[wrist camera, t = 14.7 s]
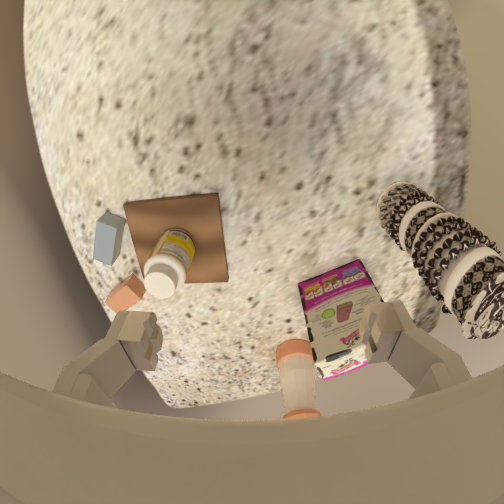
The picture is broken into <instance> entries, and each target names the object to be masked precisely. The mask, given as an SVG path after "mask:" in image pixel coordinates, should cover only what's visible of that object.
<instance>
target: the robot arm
mask: <svg viewBox="0 0 504 504" xmlns="http://www.w3.org/2000/svg"><path fill="white" fill-rule="evenodd" d="M363 313H364V317H363V318H362V319H361V320H360V325H359V335H360V340H361V342H362V343H363V344H364V345H365V346H366V348H365V350H364V352H365V355H366V358H367V361H368V364H372V363H380V362H386V361H388V363H389V364H390V365H391V366H392V367H393V368H394V369H395V370H396V371H397V372H398V373H399V374H400V375H401V376H402V377H403V378H404V379H405V380H406V381H407V382H408V383H410V385H412V386H413V387H414V388H415V391H414V392H413V393H412V395H411V396H410V398H409V399H408V400H405V401H401V402H397V403H393V404H388V405H384V406H379V407H375V408H370V409H364V410H359V411H353V412H347V413H340V414H334V415H326V416H317V417H307V418H296V419H282V420H260V421H259V420H255V421H230V420H204V419H190V418H178V417H169V416H160V415H153V414H145V413H139V412H133V411H127V410H122V409H117V407H116V406H115V405H114V404H113V403H112V401H111V400H110V398H111V397H112V396H113V395H114V394H115V392H116V391H117V390H118V389H119V388H120V387H121V386H122V385H123V384H124V383H125V382H126V381H127V380H128V379H129V378H130V377H131V375H132V374H133V373H134V372H135V371H136V370H147V371H155V368H156V365H157V361H158V356H157V354H156V353H157V352H158V351H160V350H161V347H162V341H163V335H162V331H161V328H160V326H158V325H157V324H156V321H157V317H156V315H155V313H153V312H140V311H121V310H120V311H119V312H118V313H117V314H116V316H115V318H114V320H113V322H112V325H111V327H110V329H109V331H108V333H107V336H106V337H105V339H101V340H100V341H98V342H97V343H96V344H94V345H93V346H92V347H90V348H89V349H88V350H86V351H85V352H84V353H82V354H81V355H80V356H79V357H77V358H76V359H74V360H73V361H72V362H70V363H69V364H68V365H66V366H65V367H64V368H63V369H62V371H61V373H60V375H59V377H58V379H57V381H56V384H55V386H54V389H53V391H52V392H51V391H48V390H45V389H42V388H39V387H36V386H33V385H31V384H28V383H26V382H23V381H20V380H18V379H15V378H13V377H11V376H8V375H6V374H4V373H1V372H0V504H504V365H503V366H500V367H499V368H496V369H494V370H492V371H490V372H487V373H485V374H482V375H480V376H478V377H475V378H473V379H472V377H471V375H470V373H469V371H468V369H467V367H466V365H465V363H464V361H463V359H462V357H461V356H460V355H459V354H457V353H456V352H455V351H453V350H452V349H450V348H449V347H447V346H446V345H444V344H443V343H441V342H440V341H438V340H437V339H435V338H434V337H432V336H431V335H429V334H428V333H426V332H425V331H423V330H422V329H420V328H416V326H415V324H414V323H413V321H412V319H411V317H410V315H409V313H408V311H407V310H406V308H405V306H404V304H403V302H402V301H400V300H397V301H390V302H382V303H373V304H366V305H365V307H364V310H363Z"/></svg>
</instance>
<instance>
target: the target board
mask: <svg viewBox="0 0 504 504" xmlns="http://www.w3.org/2000/svg"><path fill="white" fill-rule="evenodd" d="M123 206H124V210H125V214H126V218H127V222H128V226H129V230H130V233H131V237H132V241H133V244H134V248H135V251H136V255H137V258H138V262H139V265H140V268H141V271H142V275H143V278H145V276H144V265H145V263H146V261H147V259H148V257H149V256H150V254H151V252H152V251H153V249H154V247H155V246H156V244H157V242H158V241H159V239H160V237H161V236H162V235H163V233H165V232H166V231H168V230H170V229H181V230H184V231H186V232H187V233H189V234H190V235H191V237H192V238H193V240H194V242H195V254H194V256H193V259H192V262H191V265H190V268H189V271H188V274H187V277H186V280H185V283H214V282H228V279H229V276H228V268H227V261H226V253H225V245H224V237H223V229H222V221H221V212H220V204H219V195H218V193H212V194H200V195H189V196H179V197H169V198H160V199H151V200H142V201H134V202H127V203H126V204H124V205H123Z"/></svg>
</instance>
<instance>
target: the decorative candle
mask: <svg viewBox="0 0 504 504" xmlns="http://www.w3.org/2000/svg"><path fill="white" fill-rule="evenodd" d="M376 216H377V218H378V221H379V224H380V225H381V226H382V228H384V229H385V230H386V232H387V233H388V234H390V233H391V235H390V237H391V238H392V239H395V242H396V244H397V245H399V247H400V249H401V250H403V251H406V252H407V254H408V255H409V256H410V257H411V258H412V260H413V264H414V268H417V269H418V271H419V275H420V276H421V277H423V279H424V281H425V285H426V286H427V287H429V290H430V291H431V295H432V296H433V297H436V300H437V301H441V300H443V301H444V303H445V304H446V306H447V307H446V306H445V305H443V307H442V311H443V313H448V312H449V313H450V314H453V315H454V316H455V317H457V319H458V320H459V322H460V323H461V325H462V334H463V335H464V336H465V337H466V338H468V339H475V338H479V339H487V338H490V337H492V336H494V335H496V334H497V333H498V332H500V331H501V330H502V329H503V328H504V261H503V260H502V258H501V252H500V251H499V250H497V244H496V243H495V242H494V241H492V242H490V240H489V238H488V237H487V236H483V234H482V232H481V231H477V229H476V228H475V227H472V228H471V226H470V224H469V223H467V222H466V223H465V222H464V220H463V219H462V218H459V217H458V216H456V215H454V214H452V213H450V212H446V211H445V209H444V208H443V207H441V206H440V204H439V202H438V201H434V199H433V198H432V197H431V196H430V197H428V195H427V193H426V192H424V191H422V190H421V189H420V188H417V187H416V186H415V185H413V184H411V183H408V182H406V181H404V182H395V183H394V184H392V185H390V186H388V187H387V188H386V189H385V190H384V191H383V192H382V194H381V195H380V197H379V200H378V202H377V205H376ZM484 244H485V245H487V246H485V245H484ZM439 293H441V294H442V295H441V294H439Z"/></svg>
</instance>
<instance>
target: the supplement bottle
mask: <svg viewBox="0 0 504 504" xmlns="http://www.w3.org/2000/svg"><path fill="white" fill-rule="evenodd" d="M194 254H195V242H194V240H193V238H192V237H191V235H190V234H189V233H187V232H186V231H184V230H181V229H170V230H168V231H166V232H165V233H163V235H162V236H161V237H160V239H159V241H158V242H157V244H156V246H155V247H154V249H153V251H152V252H151V254H150V256H149V257H148V259H147V261H146V263H145V265H144V276H145V278H144V286H145V288H146V290H147V291H148V292H149V293H150V294H151V295H152V296H154V297H156V298H160V299H166V298H169V297H171V296H172V295H173V294H174V292H175V291H177V290H179V289H180V288H181V287H182V286H183V285H184V283H185V280H186V277H187V274H188V271H189V268H190V265H191V262H192V259H193V256H194Z"/></svg>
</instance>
